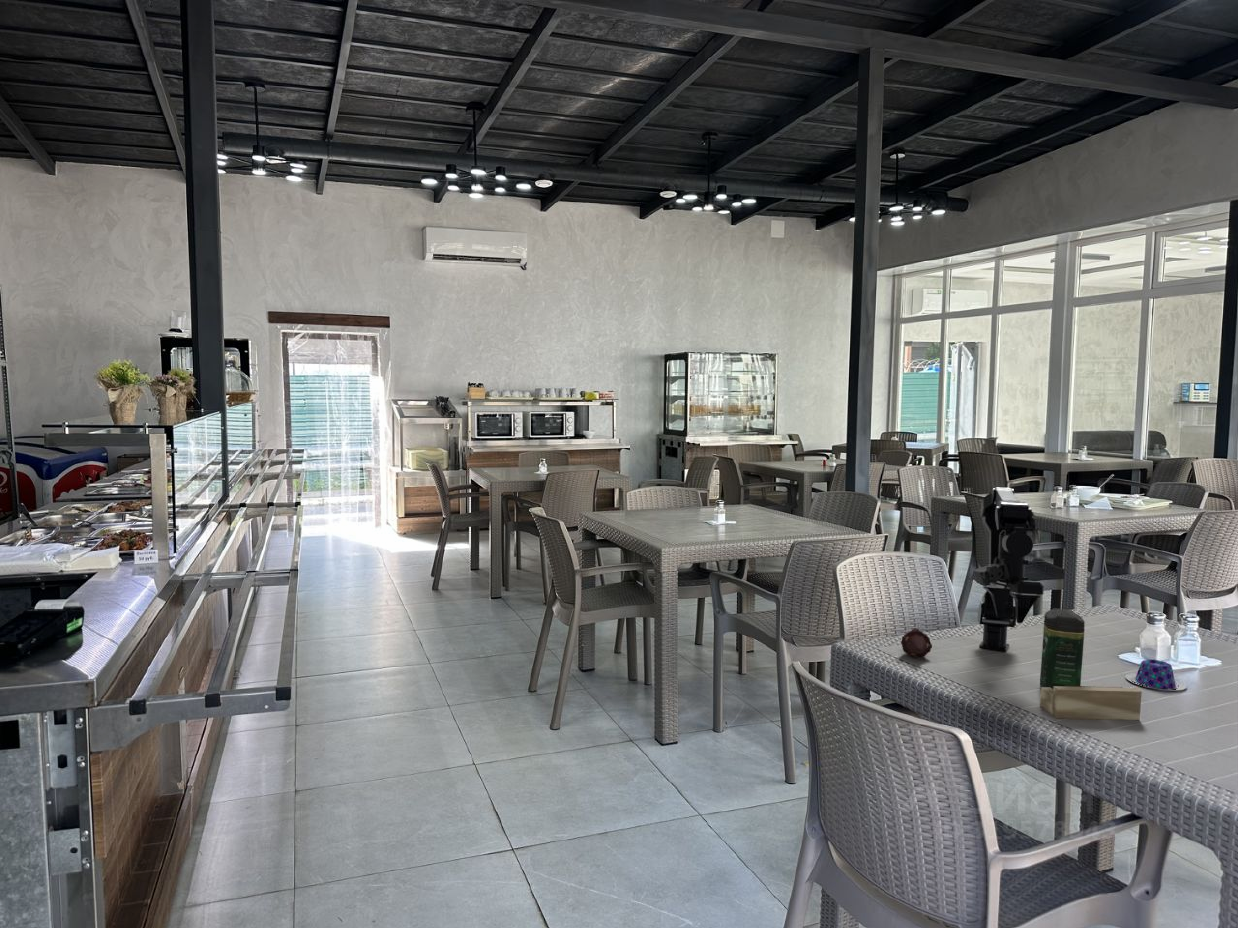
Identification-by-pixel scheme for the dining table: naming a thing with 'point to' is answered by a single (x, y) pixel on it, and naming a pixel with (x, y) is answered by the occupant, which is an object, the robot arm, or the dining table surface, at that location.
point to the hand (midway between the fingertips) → (1009, 619)
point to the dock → (1092, 702)
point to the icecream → (916, 643)
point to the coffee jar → (1062, 649)
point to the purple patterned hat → (1156, 675)
